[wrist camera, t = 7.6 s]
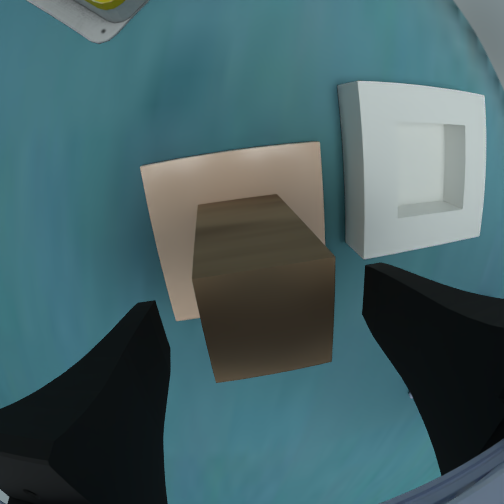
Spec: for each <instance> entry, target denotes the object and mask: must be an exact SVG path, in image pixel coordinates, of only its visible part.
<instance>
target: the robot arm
mask: <svg viewBox="0 0 504 504" xmlns="http://www.w3.org/2000/svg"><path fill="white" fill-rule="evenodd" d="M362 315H363V317H364V319H365V321H366V323H367V325H368V327H369V329H370V331H371V333H372V335H373V337H374V338H375V340H376V341H377V343H378V344H379V345H380V347H381V348H382V350H383V351H384V353H385V354H386V356H387V357H388V359H389V360H390V361H391V363H392V364H393V366H394V367H395V369H396V370H397V372H398V373H399V374H400V376H401V377H402V379H403V381H404V382H405V384H406V386H407V387H408V389H409V391H410V393H409V396H410V398H413V399H414V401H415V403H416V406H417V408H418V410H419V412H420V414H421V417H422V419H423V421H424V424H425V426H426V429H427V431H428V434H429V437H430V440H431V442H432V445H433V448H434V451H435V454H436V458H437V461H438V465H439V468H440V472H441V477H439V478H437V479H435V480H433V481H431V482H429V483H427V484H424V485H422V486H420V487H418V488H416V489H414V490H411V491H409V492H407V493H405V494H402V495H400V496H397V497H395V498H392V499H390V500H387V501H385V502H382V503H380V504H445V503H446V504H504V299H500V298H494V297H488V296H483V295H478V294H474V293H470V292H466V291H463V290H459V289H456V288H453V287H449V286H446V285H443V284H440V283H438V282H435V281H432V280H429V279H427V278H424V277H421V276H419V275H416V274H413V273H411V272H408V271H405V270H403V269H400V268H397V267H394V266H392V265H388V264H385V263H375V264H370V265H365V278H364V295H363V309H362ZM169 380H170V346H169V343H168V340H167V337H166V334H165V331H164V328H163V324H162V321H161V318H160V315H159V311H158V308H157V305H156V301H147V302H140V303H137V304H136V305H135V306H134V307H133V308H132V309H131V310H130V311H129V312H128V313H127V314H126V315H125V316H124V317H123V318H122V319H121V320H120V321H119V323H118V324H117V325H116V326H115V327H114V328H113V329H112V330H111V331H110V332H109V333H108V334H107V335H106V336H105V337H104V338H103V339H102V340H101V341H100V342H99V343H98V344H97V345H96V346H95V347H94V348H93V349H92V350H91V351H90V352H89V353H88V354H86V355H85V356H84V357H83V358H82V359H81V360H80V361H78V362H77V363H76V364H75V365H73V366H72V367H71V368H70V369H68V370H67V371H66V372H64V373H63V374H62V375H60V376H59V377H57V378H56V379H54V380H53V381H51V382H50V383H48V384H47V385H45V386H44V387H42V388H41V389H39V390H37V391H36V392H34V393H32V394H30V395H29V396H27V397H25V398H23V399H21V400H19V401H17V402H15V403H13V404H11V405H9V406H6V407H4V408H1V409H0V489H1V490H2V491H3V492H4V493H6V494H7V495H8V496H9V501H8V504H168V503H167V495H166V486H165V472H164V450H163V433H164V421H165V412H166V404H167V396H168V388H169ZM456 497H457V498H456ZM454 498H455V499H454ZM452 499H453V500H452ZM450 500H451V501H450ZM449 501H450V502H449ZM447 502H448V503H447ZM0 504H5V503H3V502H2V501H0Z"/></svg>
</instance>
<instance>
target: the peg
mask: <svg viewBox="0 0 504 504" xmlns="http://www.w3.org/2000/svg"><path fill="white" fill-rule="evenodd" d="M192 283H193V288H194V292H195V297H196V301H197V306H198V310H199V315H200V319H201V323H202V328H203V332H204V336H205V340H206V345H207V349H208V353H209V357H210V361H211V365H212V369H213V373H214V377H215V380H216V383H219V382H226V381H233V380H240V379H246V378H252V377H258V376H264V375H270V374H275V373H280V372H286V371H291V370H296V369H300V368H305V367H310V366H314V365H319V364H323V363H328V362H332V346H333V327H334V301H335V256H334V255H333V254H332V253H331V252H330V250H329V249H328V248H327V247H326V246H325V245H324V244H323V243H322V242H321V241H320V239H319V238H318V237H317V236H316V235H315V234H314V233H313V232H312V231H311V230H310V229H309V227H308V226H307V225H306V224H305V223H304V222H303V221H302V220H301V219H300V218H299V217H298V216H297V215H296V214H295V213H294V211H293V210H292V209H291V208H290V207H289V206H288V205H287V204H286V203H285V202H284V201H283V200H282V199H281V198H280V197H279V196H278V195H277V194H272V195H264V196H256V197H249V198H242V199H234V200H227V201H220V202H213V203H207V204H200V205H198V209H197V219H196V230H195V242H194V255H193V268H192Z"/></svg>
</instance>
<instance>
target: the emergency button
mask: <svg viewBox="0 0 504 504" xmlns="http://www.w3.org/2000/svg"><path fill="white" fill-rule="evenodd" d="M27 1H28V2H30V3H32V4H33V5H35V6H37V7H38V8H40V9H42V10H43V11H45V12H47V13H48V14H50V15H51V16H53V17H54V18H56V19H58V20H59V21H61V22H62V23H64V24H65V25H67V26H69V27H70V28H72V29H73V30H75V31H76V32H78V33H79V34H81V35H82V36H84V37H85V38H87V39H88V40H90V41H91V42H94V43H98V44H101V43H104V42H107V41H110V40H111V39H112V38H113V37H114V36H116V35H117V34H118V33H119V32H120V31H121V30H122V29H123V28H124V26H125V25H126V24H127V23H128V22H129V21H130V20H131V19H132V18H133V17H134V16H135V15H136V14H137V13H138V12H139V11H140V10H141V9H142V8H143V7H144V6H145V5H146V4H147V3H148V2H149V1H150V0H27Z"/></svg>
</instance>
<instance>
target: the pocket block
mask: <svg viewBox="0 0 504 504" xmlns="http://www.w3.org/2000/svg"><path fill="white" fill-rule="evenodd" d="M337 89H338V99H339V109H340V121H341V133H342V148H343V165H344V188H345V242H346V243H347V244H348V245H349V246H350V247H351V248H352V249H353V250H354V251H355V252H356V253H357V254H358V255H359V256H361V257H362V258H363V259H369V258H374V257H380V256H385V255H390V254H395V253H400V252H405V251H410V250H415V249H420V248H425V247H430V246H435V245H440V244H445V243H450V242H455V241H459V240H464V239H469V238H473V237H478V236H479V235H480V228H481V220H482V211H483V201H484V188H485V171H486V114H485V97H484V95H480V94H475V93H469V92H464V91H458V90H451V89H445V88H438V87H430V86H422V85H412V84H402V83H389V82H373V81H355V82H350V83H345V84H341V85H337Z"/></svg>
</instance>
